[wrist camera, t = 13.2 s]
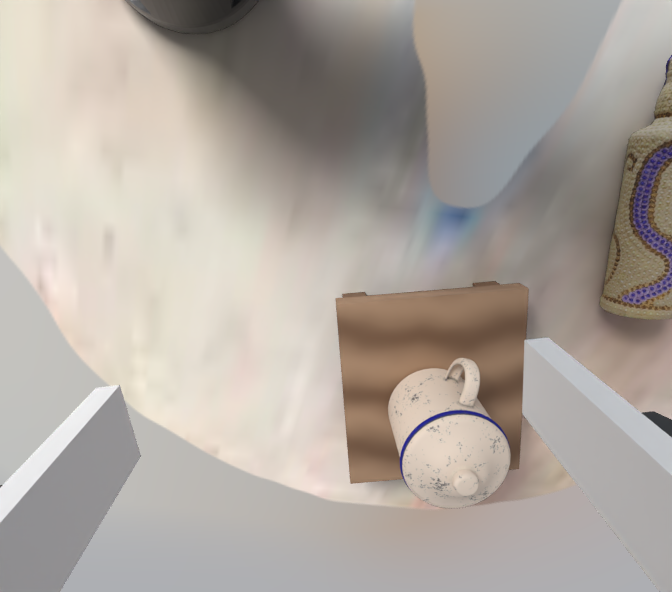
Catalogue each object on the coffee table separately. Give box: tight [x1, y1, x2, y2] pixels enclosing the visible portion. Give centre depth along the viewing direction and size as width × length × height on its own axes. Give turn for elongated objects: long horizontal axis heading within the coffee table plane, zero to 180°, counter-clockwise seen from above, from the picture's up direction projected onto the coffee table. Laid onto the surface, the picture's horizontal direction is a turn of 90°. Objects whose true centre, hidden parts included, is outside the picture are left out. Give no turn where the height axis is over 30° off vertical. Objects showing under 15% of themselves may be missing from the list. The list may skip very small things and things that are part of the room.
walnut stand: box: [336, 281, 529, 484], centre depth 46 cm, size 20×18×6 cm
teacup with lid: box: [388, 358, 511, 509], centre depth 38 cm, size 12×9×12 cm
